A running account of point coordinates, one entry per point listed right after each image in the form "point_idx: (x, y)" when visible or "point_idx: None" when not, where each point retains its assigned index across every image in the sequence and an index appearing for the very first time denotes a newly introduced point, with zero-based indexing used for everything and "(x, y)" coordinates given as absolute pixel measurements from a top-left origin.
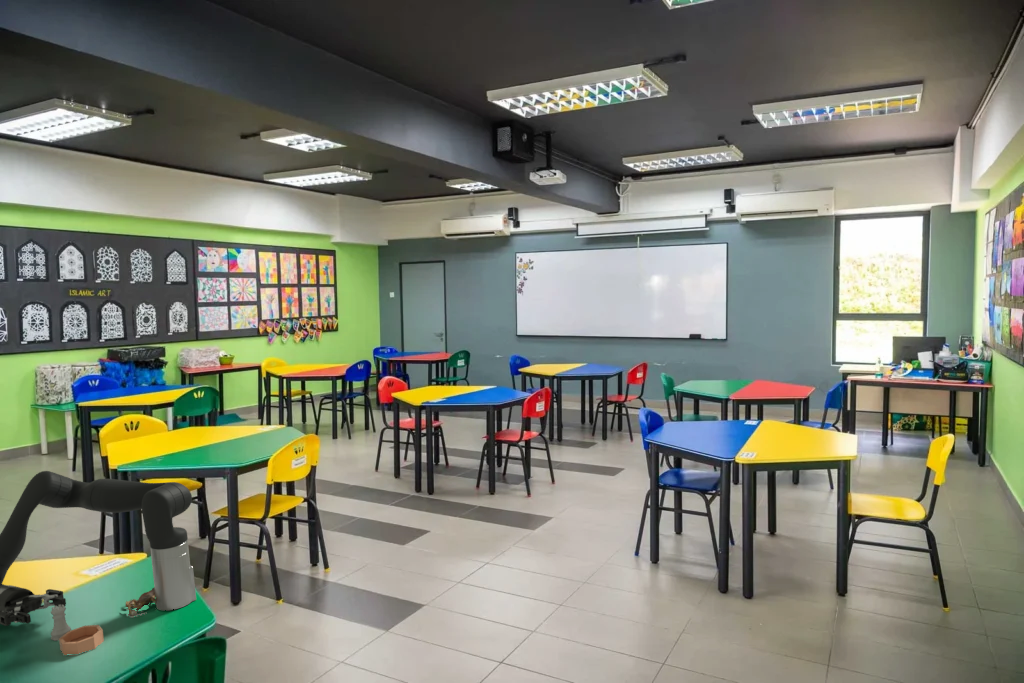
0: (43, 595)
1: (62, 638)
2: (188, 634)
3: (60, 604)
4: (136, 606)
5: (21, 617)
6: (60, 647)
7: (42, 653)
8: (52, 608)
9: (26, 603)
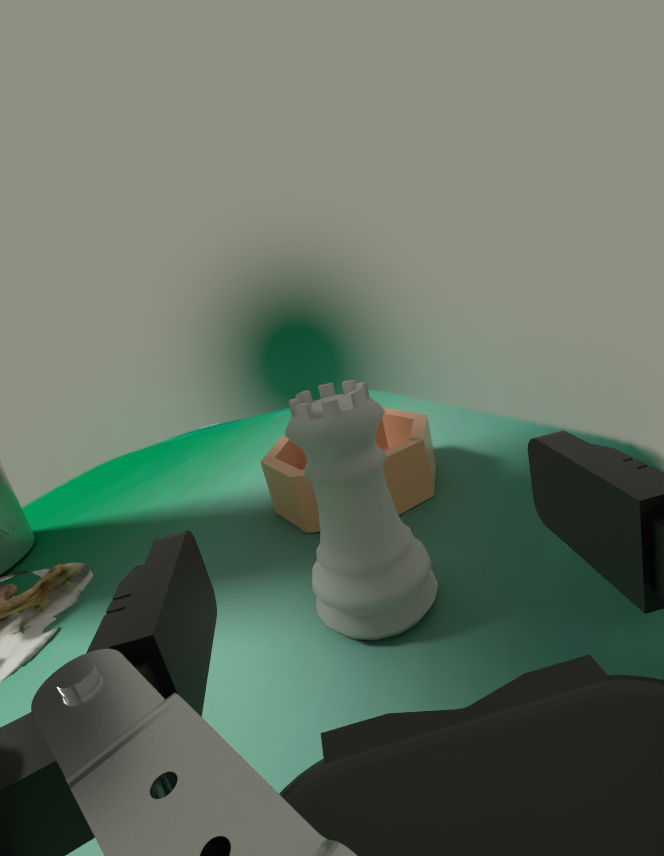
0: (156, 749)
1: (411, 437)
2: (183, 436)
3: (296, 406)
4: (8, 585)
5: (617, 452)
6: (431, 472)
7: (508, 510)
8: (360, 392)
9: (581, 792)
